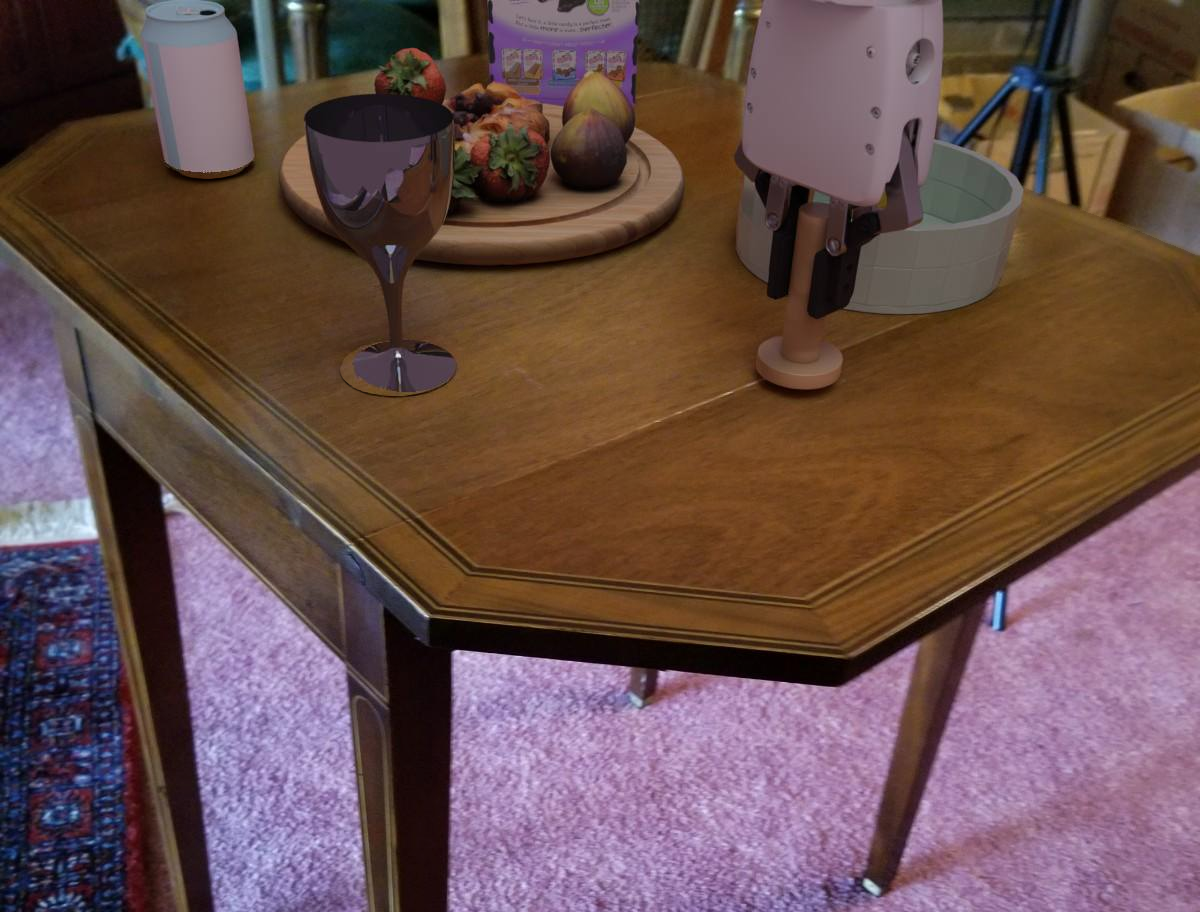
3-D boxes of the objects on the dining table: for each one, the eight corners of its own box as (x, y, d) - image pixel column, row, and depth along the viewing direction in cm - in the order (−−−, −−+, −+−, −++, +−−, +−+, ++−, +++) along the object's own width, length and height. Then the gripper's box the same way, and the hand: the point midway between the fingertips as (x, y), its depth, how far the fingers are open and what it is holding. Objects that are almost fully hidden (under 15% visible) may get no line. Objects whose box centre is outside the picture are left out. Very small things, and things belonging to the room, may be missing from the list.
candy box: (632, 92, 118) (642, -100, 107) (635, 111, 113) (645, -87, 103) (491, 87, 117) (487, -106, 107) (487, 106, 113) (483, -93, 102)
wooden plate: (260, 137, 104) (246, 35, 99) (609, 113, 113) (613, 17, 107) (311, 295, 81) (296, 173, 76) (746, 250, 89) (759, 137, 84)
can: (217, 146, 102) (192, -9, 95) (273, 166, 99) (252, 8, 91) (148, 168, 98) (115, 8, 90) (204, 190, 95) (175, 26, 87)
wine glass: (444, 329, 78) (432, 88, 69) (479, 388, 72) (472, 134, 63) (321, 346, 76) (291, 99, 66) (347, 409, 70) (319, 148, 60)
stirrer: (858, 371, 74) (886, 212, 68) (802, 398, 71) (826, 236, 65) (794, 340, 77) (815, 185, 71) (738, 365, 74) (755, 206, 68)
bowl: (1054, 265, 89) (1077, 185, 86) (891, 342, 79) (909, 254, 75) (848, 186, 100) (860, 112, 97) (681, 244, 90) (687, 163, 86)
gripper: (1040, -23, 57) (958, 332, 69) (784, -80, 66) (750, 242, 78) (946, 1, 53) (875, 373, 65) (687, -63, 62) (667, 273, 74)
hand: (807, 299), depth 71 cm, fingers closed on stirrer, 2 cm apart
